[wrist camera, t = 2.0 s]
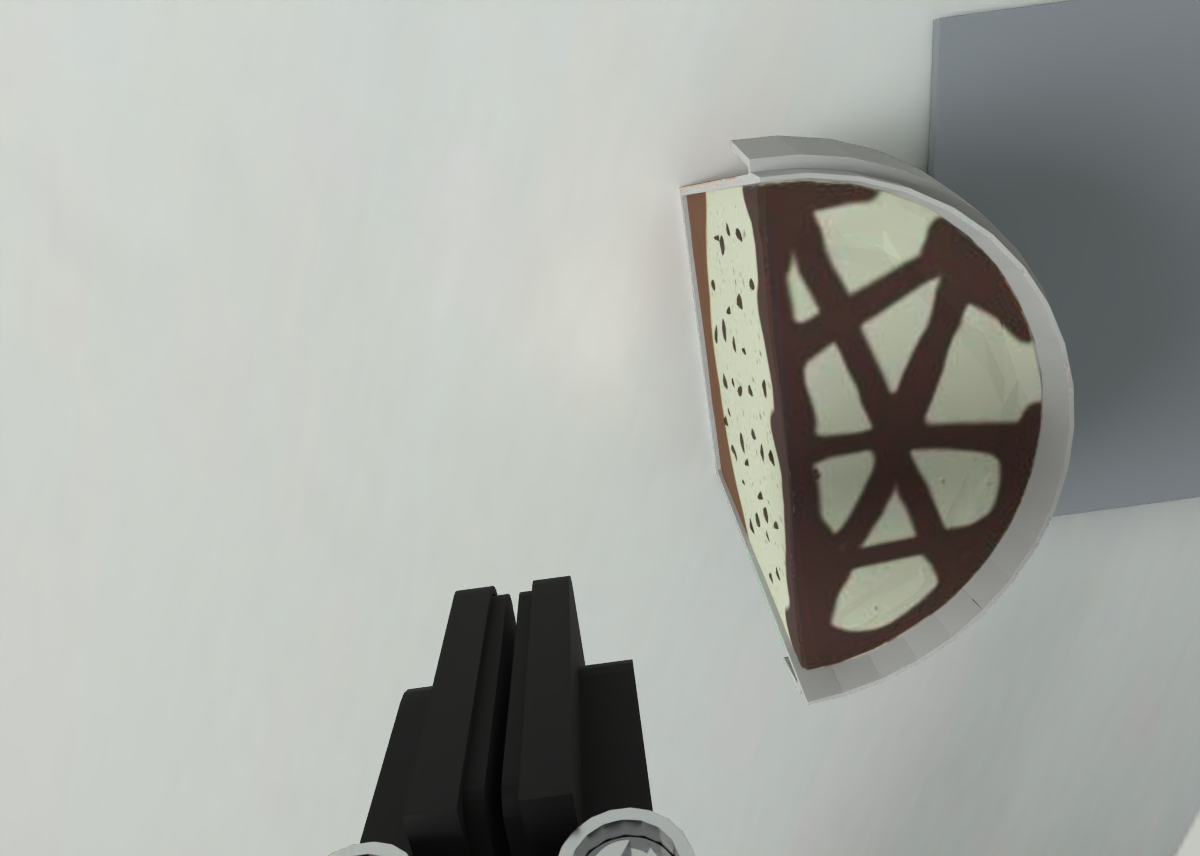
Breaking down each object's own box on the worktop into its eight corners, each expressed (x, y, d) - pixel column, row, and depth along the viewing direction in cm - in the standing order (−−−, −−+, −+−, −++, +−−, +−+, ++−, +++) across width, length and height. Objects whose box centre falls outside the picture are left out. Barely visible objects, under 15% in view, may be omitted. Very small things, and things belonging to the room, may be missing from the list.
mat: (933, 20, 21) (940, 18, 21) (1368, -39, 21) (1383, -42, 21) (915, 528, 27) (920, 534, 27) (1253, 483, 27) (1263, 488, 27)
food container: (898, 479, 26) (1084, 676, 17) (721, 511, 26) (809, 723, 17) (887, 93, 22) (1133, 72, 12) (672, 133, 22) (756, 143, 12)
